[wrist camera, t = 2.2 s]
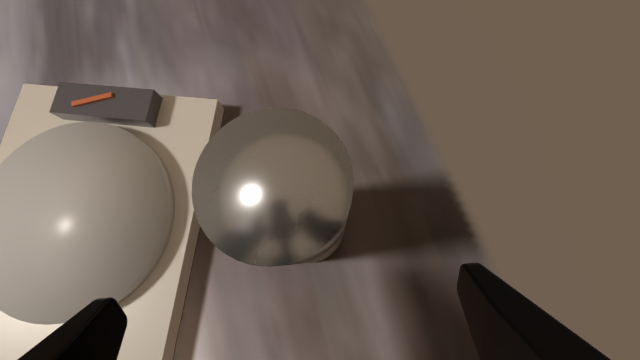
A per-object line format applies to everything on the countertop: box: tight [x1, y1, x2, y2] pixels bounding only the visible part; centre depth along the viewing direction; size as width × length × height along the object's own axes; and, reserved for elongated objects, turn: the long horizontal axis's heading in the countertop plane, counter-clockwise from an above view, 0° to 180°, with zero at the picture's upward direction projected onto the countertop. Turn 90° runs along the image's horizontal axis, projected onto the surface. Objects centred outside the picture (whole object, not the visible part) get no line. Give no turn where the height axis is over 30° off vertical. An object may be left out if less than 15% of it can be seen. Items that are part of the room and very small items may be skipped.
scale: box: [0, 82, 224, 360], centre depth 18 cm, size 16×13×2 cm
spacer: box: [192, 107, 354, 266], centre depth 13 cm, size 4×4×11 cm
